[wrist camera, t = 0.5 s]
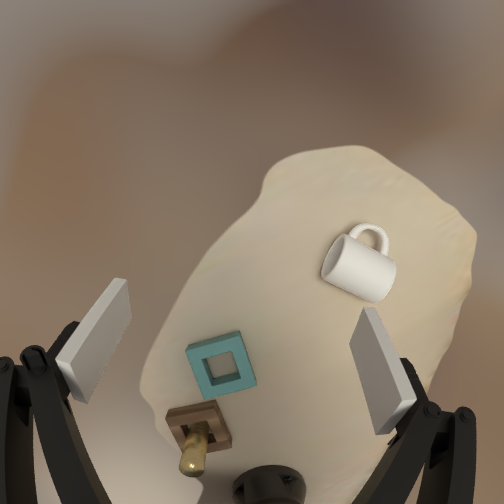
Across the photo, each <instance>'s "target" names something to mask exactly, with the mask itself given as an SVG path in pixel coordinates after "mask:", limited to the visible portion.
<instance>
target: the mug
mask: <svg viewBox="0 0 504 504" xmlns="http://www.w3.org/2000/svg"><path fill="white" fill-rule="evenodd" d="M365 229H370V230H373V231H375V232H377V233H378V234H379V235H380V236H381V240H382V244H381V249H380V252H378V251H376V250H374V249H372V248H370V247H369V246H367V245H365V244H363V243H361V242H359V241H358V240H356V239H357V237H358V235H359V234H360V233H361V232H362V231H363V230H365ZM388 251H389V239H388V236H387V234H386V232H385V231H384V230H383V229H382V228H381V227H379V226H377V225H374V224H370V223H362V224H359V225H356V226H355V227H354V228H353V229H352V230H351V231H350V233H349V234H348V235H346V234H342V235H340V236H339V237H338V238H337V239H336V240H335V241H334V243H333V244H332V246H331V248H330V249H329V251H328V253H327V255H326V258H325V260H324V263H323V266H322V270H321V277H322V279H323V280H325V281H327V282H329V283H331V284H333V285H335V286H337V287H339V288H341V289H344V290H346V291H348V292H350V293H352V294H354V295H356V296H358V297H360V298H362V299H364V300H366V301H368V302H370V303H377V302H379V301H381V300H382V299H383V298H384V297H385V296H386V295H387V293H388V292H389V290H390V289H391V287H392V285H393V282H394V280H395V276H396V264H395V262H394V261H393V260H392V259H390V258H388V257H387V256H388Z"/></svg>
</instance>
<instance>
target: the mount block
mask: <svg viewBox="0 0 504 504" xmlns="http://www.w3.org/2000/svg"><path fill="white" fill-rule="evenodd" d="M165 419H166V421H167V423H168V426H169V428H170V430H171V432H172V434H173V436H174V438H175V440H176V441H177V443H178V445H179V447H180V449H181V451H182V453H183V449H184V446H185V442H186V438H187V435H188V431H189V428H188V426H187V424H191V423H196V422H201V421H206V420H207V421H208V424H209V426H210V428H211V430H212V432H213V434H209V438H208V445H207V452H206V453H209V452H215V451H220V450H224V449H229V448H232V438H231V435H230V433H229V431H228V428H227V426H226V424H225V422H224V419H223V417H222V414H221V412H220V410H219V407H218V405H217V402H216V400H211V401H207V402H203V403H199V404H194V405H190V406H185V407H180V408H175V409H170V410H169V411H168V413H167V415H166V417H165Z"/></svg>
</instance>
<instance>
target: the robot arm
mask: <svg viewBox="0 0 504 504" xmlns="http://www.w3.org/2000/svg"><path fill="white" fill-rule="evenodd" d="M131 319H132V316H131V309H130V302H129V294H128V285H127V280H126V279H119V278H114V279H113V281H112V282H111V283H110V285H109V286H108V287H107V288H106V290H105V291H104V292H103V293H102V295H101V296H100V297H99V299H98V300H97V301H96V303H95V304H94V305H93V307H92V308H91V309H90V311H89V312H88V314H87V315H86V316H85V317H84V319H83V320H82V321H81V323H80V322H76V321H73V322H72V323H70V324H69V325H67V326H66V327H65V328H64V330H63V331H62V332H61V334H60V335H59V336H58V338H57V340H56V341H55V342H54V343H53V345H52V346H51V348H50V349H49V350H48V352H47V353H46V352H45V350H44V349H43V348H42V347H41V346H38V345H33V346H29V347H26V348H25V349H24V350H23V351H22V353H21V354H20V360H21V362H22V364H23V366H22V365H15V364H14V362H13V360H12V359H11V358H9V357H6V356H5V357H0V504H38V502H37V495H36V486H35V475H34V457H33V414H34V418H35V422H36V426H37V431H38V435H39V439H40V442H41V446H42V449H43V453H44V456H45V459H46V462H47V466H48V468H49V472H50V474H51V477H52V480H53V483H54V485H55V488H56V490H57V493H58V496H59V498H60V501H61V503H62V504H112V503H111V501H110V499H109V497H108V495H107V493H106V491H105V489H104V488H103V486H102V483H101V481H100V480H99V477H98V475H97V473H96V471H95V469H94V466H93V464H92V462H91V460H90V458H89V455H88V453H87V451H86V448H85V446H84V443H83V441H82V438H81V435H80V432H79V430H78V427H77V425H76V421H75V418H74V416H73V413H72V409H71V406H70V404H69V400H68V399H67V397H68V395H69V393H70V392H71V394H72V396H73V398H74V399H75V400H78V401H81V402H84V403H86V404H88V402H89V400H90V398H91V396H92V394H93V392H94V389H95V388H96V386H97V384H98V381H99V379H100V378H101V375H102V373H103V371H104V370H105V368H106V366H107V364H108V362H109V360H110V358H111V356H112V354H113V352H114V351H115V349H116V347H117V345H118V343H119V341H120V339H121V338H122V336H123V334H124V332H125V330H126V329H127V327H128V325H129V323H130V321H131ZM349 345H350V348H351V351H352V354H353V357H354V361H355V364H356V367H357V371H358V374H359V377H360V381H361V384H362V387H363V391H364V394H365V398H366V401H367V405H368V409H369V412H370V416H371V420H372V423H373V427H374V431H375V435H382V434H390V432H391V431H392V430H393V429H394V428H395V427H396V431H397V434H396V435H395V436H394V437H393V438H392V439H391V440H390V442H389V443H388V445H389V447H388V448H387V450H386V452H385V454H384V455H383V457H382V459H381V460H380V462H379V464H378V465H377V467H376V468H375V470H374V472H373V473H372V475H371V476H370V478H369V479H368V481H367V482H366V484H365V485H364V487H363V488H362V490H361V491H360V493H359V494H358V495H357V497H356V498H355V500H354V501H353V502H352V504H404V503H405V501H406V499H407V498H408V496H409V494H410V492H411V490H412V488H413V486H414V484H415V482H416V480H417V478H418V476H419V474H420V471H421V469H422V467H423V465H424V463H425V465H424V470H423V476H422V481H421V486H420V490H419V495H418V499H417V503H416V504H473V495H474V486H475V472H476V417H475V414H474V413H473V411H472V410H471V409H470V408H467V407H459V408H458V409H457V410H456V411H455V412H454V413H452V412H445V411H441V409H440V407H439V406H438V405H437V404H436V403H434V402H431V401H429V400H428V397H427V395H426V393H425V391H424V388H423V386H422V384H421V382H420V380H419V377H418V375H417V374H416V371H415V369H414V367H413V365H412V364H411V363H410V362H409V360H408V359H407V358H399V356H398V354H397V352H396V350H395V347H394V345H393V343H392V341H391V339H390V337H389V335H388V333H387V331H386V329H385V327H384V324H383V322H382V320H381V318H380V316H379V314H378V312H377V310H376V308H369V307H363V309H362V312H361V315H360V317H359V320H358V323H357V325H356V328H355V330H354V333H353V335H352V338H351V340H350V343H349ZM305 496H306V485H305V482H304V479H303V477H302V476H301V475H300V474H299V473H298V472H297V471H295V470H293V469H291V468H288V467H284V466H263V467H258V468H255V469H252V470H249V471H247V472H245V473H244V474H242V475H241V476H240V477H239V478H238V479H237V480H236V481H235V483H234V485H233V500H234V503H235V504H304V501H305Z"/></svg>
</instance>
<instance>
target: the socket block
mask: <svg viewBox="0 0 504 504" xmlns="http://www.w3.org/2000/svg"><path fill="white" fill-rule="evenodd" d="M229 351H232V354H233V356H234V359H235V362H236V365H237V368H238V371H239V372H237V373H233V374H230V375H226V376H222V377H219V378H215V379H213V377H212V374H211V372H210V369H209V366H208V364H207V361H206V358H208V357H212V356H215V355H219V354H222V353H226V352H229ZM186 354H187V357H188V360H189V362H190V365H191V367H192V370H193V373H194V375H195V378H196V380H197V383H198V385H199V388H200V390H201V393H202V395H203V398H204V400H205V399H209V398H213V397H217V396H221V395H225V394H229V393H233V392H236V391H240V390H244V389H247V388H251V387H254V386H257V383H256V378H255V375H254V372H253V369H252V366H251V363H250V360H249V357H248V354H247V351H246V348H245V345H244V342H243V339H242V336H241V333H240V331H237V332H234V333H230V334H227V335H224V336H220V337H217V338H213V339H210V340H206V341H202V342H199V343H195V344H191V345H188V347H187V349H186Z"/></svg>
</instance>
